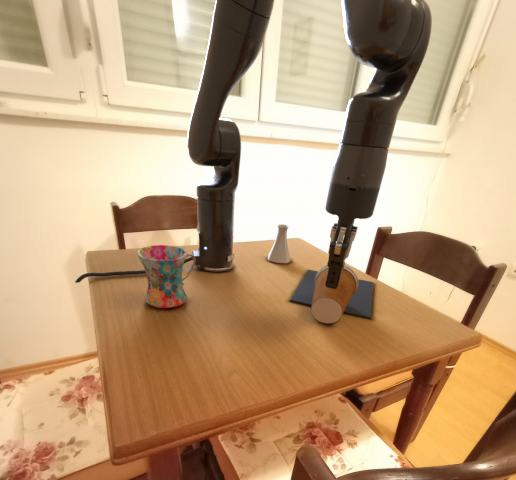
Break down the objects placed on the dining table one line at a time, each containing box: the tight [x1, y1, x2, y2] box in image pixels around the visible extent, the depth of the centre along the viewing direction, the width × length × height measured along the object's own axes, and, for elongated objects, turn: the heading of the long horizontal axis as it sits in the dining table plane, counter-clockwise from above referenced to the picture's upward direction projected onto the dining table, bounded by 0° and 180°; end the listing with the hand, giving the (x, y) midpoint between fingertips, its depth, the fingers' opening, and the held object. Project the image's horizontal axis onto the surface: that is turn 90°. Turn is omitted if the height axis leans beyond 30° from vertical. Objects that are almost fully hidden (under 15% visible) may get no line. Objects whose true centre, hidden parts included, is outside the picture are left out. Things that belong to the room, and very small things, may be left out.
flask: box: [267, 224, 292, 264], centre depth 92 cm, size 7×7×10 cm
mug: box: [136, 244, 196, 309], centre depth 64 cm, size 12×9×11 cm
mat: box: [289, 269, 374, 320], centre depth 78 cm, size 22×18×1 cm
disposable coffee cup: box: [310, 264, 359, 325], centre depth 66 cm, size 10×10×12 cm
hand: (331, 286), depth 57 cm, fingers closed
